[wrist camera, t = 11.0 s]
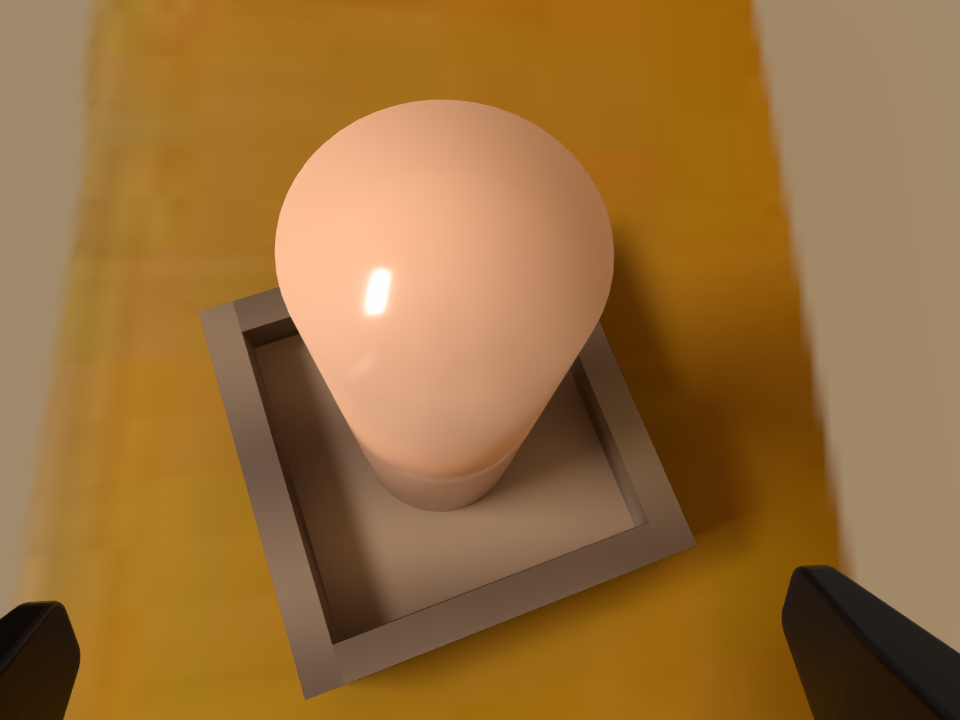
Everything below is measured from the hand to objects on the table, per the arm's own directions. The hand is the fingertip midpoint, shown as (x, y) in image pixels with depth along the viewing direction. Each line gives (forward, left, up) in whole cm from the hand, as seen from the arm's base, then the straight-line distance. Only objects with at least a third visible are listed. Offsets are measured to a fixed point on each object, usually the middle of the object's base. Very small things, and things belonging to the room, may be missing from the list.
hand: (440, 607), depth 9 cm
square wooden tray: (+4, -1, -14) cm, 14 cm away
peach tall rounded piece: (+4, -1, -12) cm, 13 cm away
